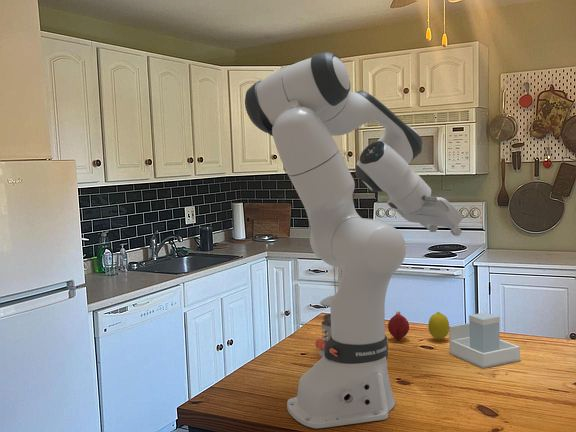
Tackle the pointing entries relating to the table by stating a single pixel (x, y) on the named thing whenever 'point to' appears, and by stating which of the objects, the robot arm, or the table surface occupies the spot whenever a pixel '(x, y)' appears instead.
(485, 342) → the carton
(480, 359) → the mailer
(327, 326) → the french press
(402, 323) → the onion
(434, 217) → the robot arm
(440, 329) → the lemon
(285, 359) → the table surface
